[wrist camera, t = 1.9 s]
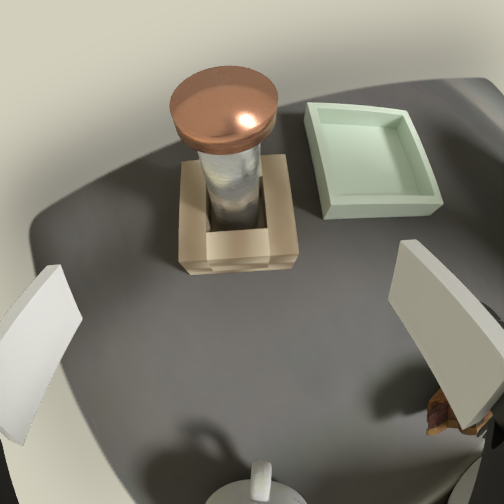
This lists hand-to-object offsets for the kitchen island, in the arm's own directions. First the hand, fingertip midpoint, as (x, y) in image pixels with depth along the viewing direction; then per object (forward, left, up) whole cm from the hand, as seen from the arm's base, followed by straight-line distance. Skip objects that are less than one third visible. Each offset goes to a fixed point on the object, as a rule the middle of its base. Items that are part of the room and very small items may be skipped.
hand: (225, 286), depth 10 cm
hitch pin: (0, -10, -17) cm, 19 cm away
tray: (-16, -17, -18) cm, 29 cm away
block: (0, -10, -18) cm, 20 cm away
